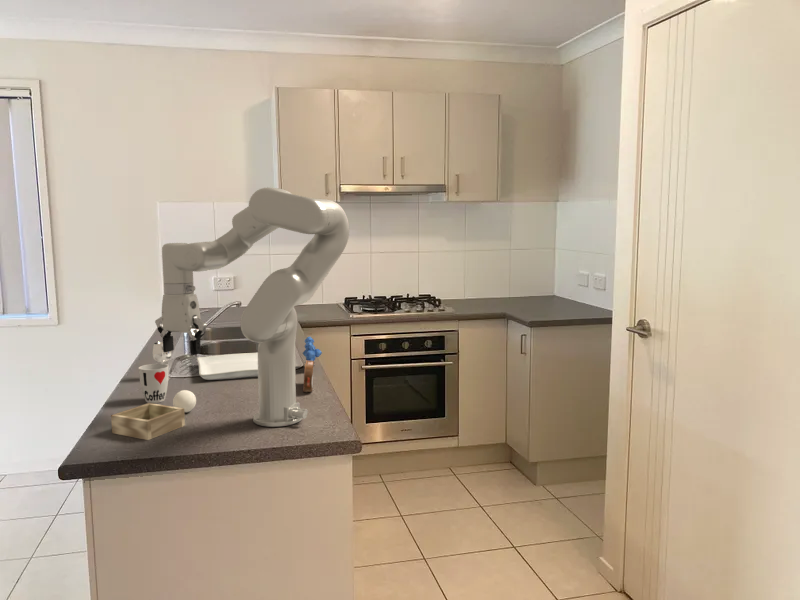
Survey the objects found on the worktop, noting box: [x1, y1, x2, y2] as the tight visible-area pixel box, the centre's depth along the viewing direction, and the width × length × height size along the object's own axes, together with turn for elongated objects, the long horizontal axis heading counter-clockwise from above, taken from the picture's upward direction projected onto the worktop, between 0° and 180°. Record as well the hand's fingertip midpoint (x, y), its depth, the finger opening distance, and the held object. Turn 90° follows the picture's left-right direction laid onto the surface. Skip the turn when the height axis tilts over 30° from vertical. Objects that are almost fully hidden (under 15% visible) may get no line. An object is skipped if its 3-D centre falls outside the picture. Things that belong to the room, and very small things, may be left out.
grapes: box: [302, 336, 323, 367], centre depth 226 cm, size 12×7×12 cm, turn 8°
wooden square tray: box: [110, 402, 186, 441], centre depth 162 cm, size 12×12×4 cm
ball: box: [172, 389, 197, 414], centre depth 177 cm, size 6×6×6 cm
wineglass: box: [152, 341, 173, 381], centre depth 213 cm, size 6×6×12 cm
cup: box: [138, 363, 170, 404], centre depth 188 cm, size 8×8×10 cm
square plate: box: [196, 352, 258, 381], centre depth 225 cm, size 27×27×4 cm
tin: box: [302, 359, 315, 393], centre depth 201 cm, size 15×3×8 cm, turn 6°
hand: (182, 352), depth 175 cm, fingers open, 9 cm apart
